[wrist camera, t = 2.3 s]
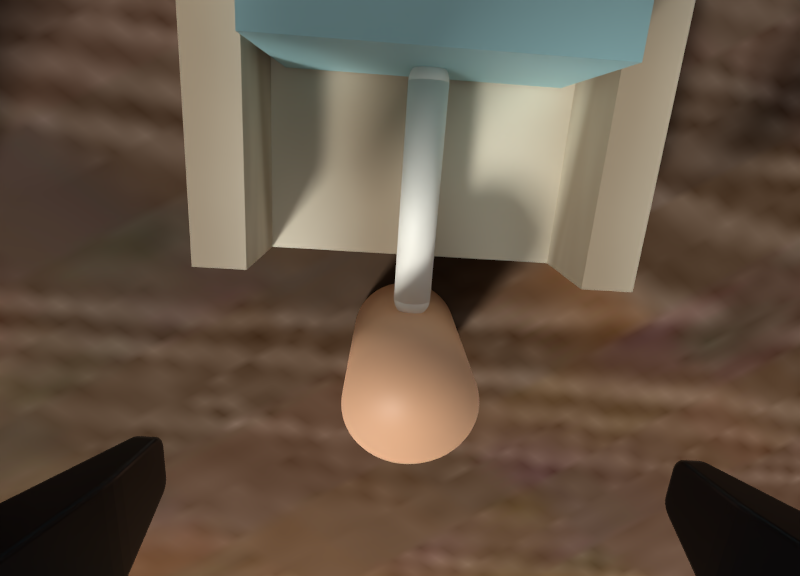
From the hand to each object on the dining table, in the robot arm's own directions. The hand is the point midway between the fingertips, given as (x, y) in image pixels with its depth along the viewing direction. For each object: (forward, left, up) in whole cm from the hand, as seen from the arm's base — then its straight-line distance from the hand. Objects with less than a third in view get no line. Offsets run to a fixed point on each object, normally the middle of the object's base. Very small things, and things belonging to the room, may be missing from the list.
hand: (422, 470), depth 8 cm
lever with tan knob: (0, -5, -7) cm, 8 cm away
